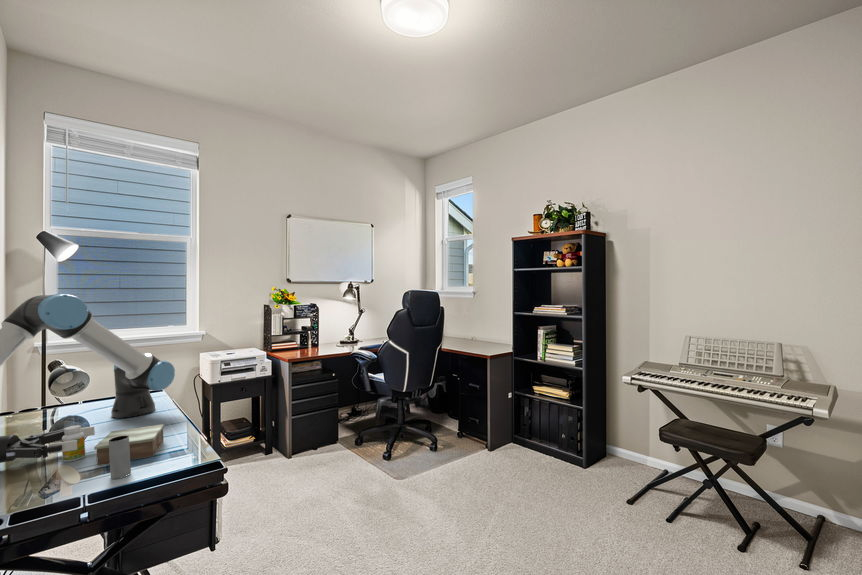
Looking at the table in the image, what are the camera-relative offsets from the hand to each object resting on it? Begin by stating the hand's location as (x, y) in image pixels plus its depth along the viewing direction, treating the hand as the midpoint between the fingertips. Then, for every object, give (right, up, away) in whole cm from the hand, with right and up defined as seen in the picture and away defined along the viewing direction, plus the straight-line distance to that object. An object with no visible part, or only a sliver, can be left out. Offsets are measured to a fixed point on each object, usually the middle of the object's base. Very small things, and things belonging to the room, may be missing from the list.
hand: (86, 437), depth 134 cm
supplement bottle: (-3, -6, -1) cm, 7 cm away
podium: (+13, -5, +2) cm, 14 cm away
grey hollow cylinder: (+22, -5, -15) cm, 27 cm away
